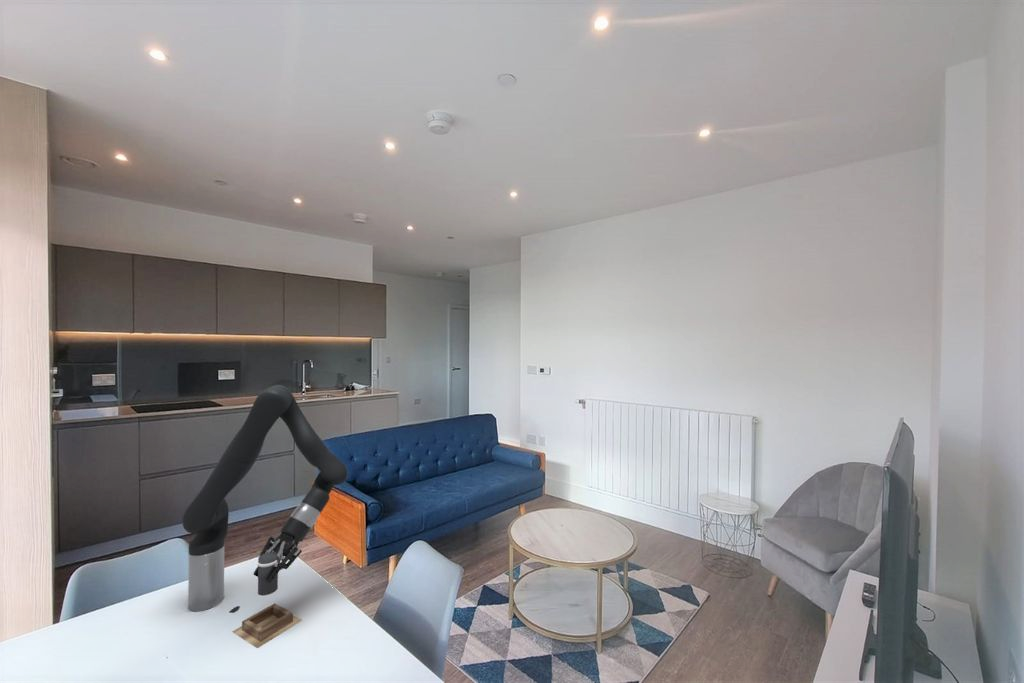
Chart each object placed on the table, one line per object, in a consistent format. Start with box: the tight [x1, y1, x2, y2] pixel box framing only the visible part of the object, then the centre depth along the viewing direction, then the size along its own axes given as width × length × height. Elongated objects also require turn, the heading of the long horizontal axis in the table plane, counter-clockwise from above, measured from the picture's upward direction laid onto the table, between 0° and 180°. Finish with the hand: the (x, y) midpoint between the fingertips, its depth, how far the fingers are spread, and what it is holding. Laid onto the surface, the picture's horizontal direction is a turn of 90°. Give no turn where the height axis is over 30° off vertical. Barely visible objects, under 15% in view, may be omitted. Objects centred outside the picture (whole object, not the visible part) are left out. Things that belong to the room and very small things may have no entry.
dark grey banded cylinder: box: [257, 552, 279, 596], centre depth 120 cm, size 5×5×10 cm
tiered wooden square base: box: [231, 603, 303, 649], centre depth 119 cm, size 13×13×3 cm
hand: (261, 578), depth 118 cm, fingers closed on dark grey banded cylinder, 5 cm apart
